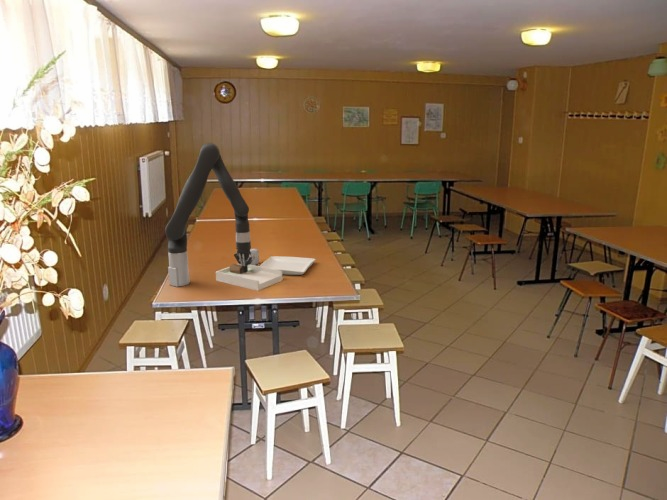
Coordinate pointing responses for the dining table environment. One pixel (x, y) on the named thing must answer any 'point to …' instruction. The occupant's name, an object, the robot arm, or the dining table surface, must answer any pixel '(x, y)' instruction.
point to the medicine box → (256, 254)
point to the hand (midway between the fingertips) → (245, 272)
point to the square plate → (288, 264)
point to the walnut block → (236, 269)
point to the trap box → (250, 277)
